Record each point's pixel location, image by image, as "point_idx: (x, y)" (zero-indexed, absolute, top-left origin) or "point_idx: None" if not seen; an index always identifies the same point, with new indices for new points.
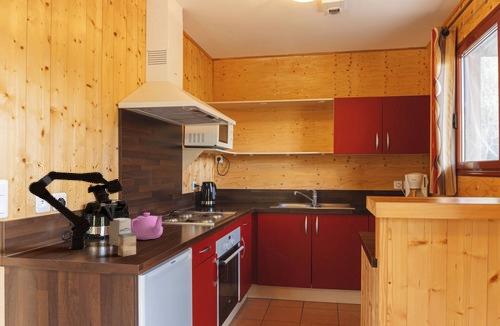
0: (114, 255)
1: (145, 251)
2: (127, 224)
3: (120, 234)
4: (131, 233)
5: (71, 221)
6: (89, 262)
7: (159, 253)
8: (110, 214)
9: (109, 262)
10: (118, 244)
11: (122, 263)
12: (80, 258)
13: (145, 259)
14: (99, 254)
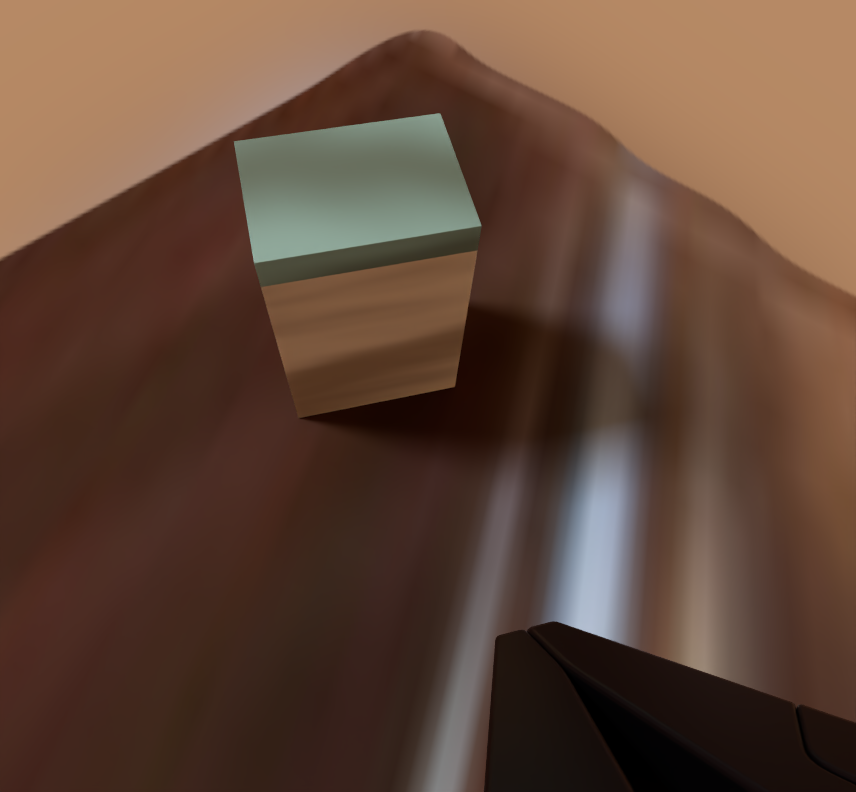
0: (495, 379)
1: (132, 379)
2: None
3: (460, 187)
4: (287, 180)
5: None
6: (747, 249)
7: (76, 226)
8: (668, 704)
9: (589, 171)
10: (464, 312)
11: (502, 102)
12: (843, 438)
13: (302, 114)
14: (641, 519)
